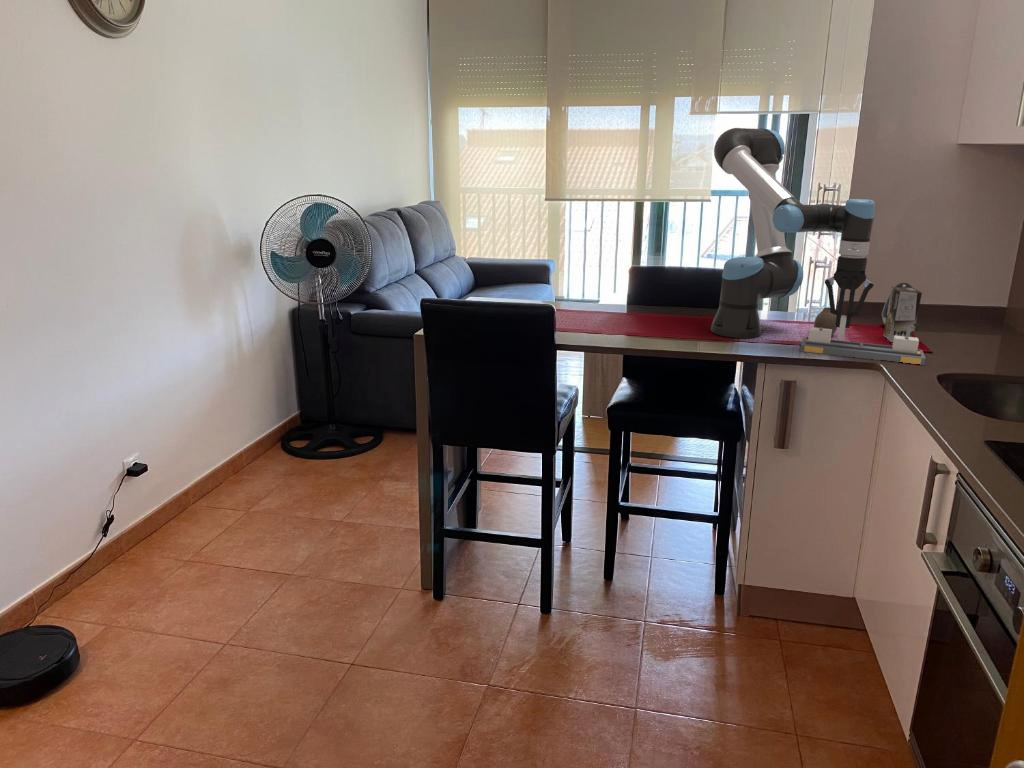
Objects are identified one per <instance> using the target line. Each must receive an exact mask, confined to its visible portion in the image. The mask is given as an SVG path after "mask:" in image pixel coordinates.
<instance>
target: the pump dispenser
mask: <svg viewBox="0 0 1024 768" xmlns="http://www.w3.org/2000/svg"><path fill="white" fill-rule="evenodd" d="M894 287H909V288H914V287H913V286H912V285H911V284H910V283H908V282H904V281H903V282H899V283H897V284H895V286H894ZM890 294H891V292H890V293H889V294H888V296H887V299H886V301H885V303H884V306H883V308H882V311H881V317H882V322H883V324H884V325H885V324H886V317H887V311H888V305H889V299H890Z"/></svg>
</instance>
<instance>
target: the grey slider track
mask: <svg viewBox="0 0 1024 768" xmlns="http://www.w3.org/2000/svg"><path fill="white" fill-rule="evenodd" d="M808 337H809V336H806V337H805V336H804V337H803V336H802V340H801V344H800V352H802V353H808V354H809V353H811V354H818V355H819V354H820V355H829V356H835V357H836V356H839V357H844V356H845V357H847V358H853V357H855V358H856V359H862V358H863V359H865V360H871V359H873V360H874V361H880V360H888V361H887V362H889V361H896V362H895V363H898V362H903V363H902V364H906V363H911V364H910V365H915V364H920V365H919V366H925V365H926V364H925V363H926V361H927V360H926V359H927V357H926V355H925V353H924V351H923V349H920V348H918V349H917V353H909V352H900V351H892V345H886V344H875V343H869V342H868V343H867V342H857V341H848V340H840V339H837V340H836V339H831V341H830V344H826V343H817V342H808ZM845 357H844V358H845ZM863 359H862V360H863ZM873 360H872V361H873Z"/></svg>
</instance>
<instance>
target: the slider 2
mask: <svg viewBox="0 0 1024 768" xmlns="http://www.w3.org/2000/svg"><path fill="white" fill-rule="evenodd" d="M919 343H920V340H919V338H918V337H916V336H914V337H908V336H895V335H894V339H893V343H892V344H891V346H892V351H900V352H909V353H917V349H919V345H920V344H919Z"/></svg>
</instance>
